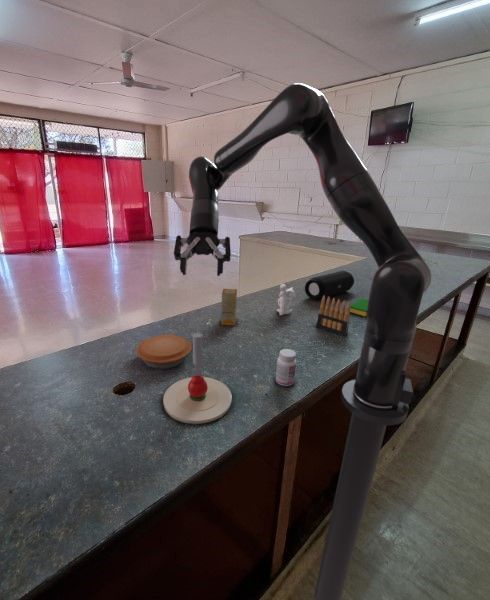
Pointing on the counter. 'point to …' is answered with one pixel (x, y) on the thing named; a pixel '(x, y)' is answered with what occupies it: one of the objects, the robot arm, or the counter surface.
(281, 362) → the pill bottle
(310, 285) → the portable speaker
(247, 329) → the counter surface
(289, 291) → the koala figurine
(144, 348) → the pie
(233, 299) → the shoe polish box
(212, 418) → the plate
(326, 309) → the ammunition clip
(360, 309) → the dish sponge
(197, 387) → the forked strawberry
